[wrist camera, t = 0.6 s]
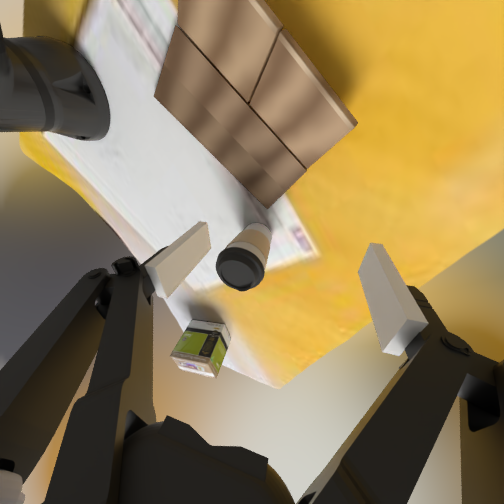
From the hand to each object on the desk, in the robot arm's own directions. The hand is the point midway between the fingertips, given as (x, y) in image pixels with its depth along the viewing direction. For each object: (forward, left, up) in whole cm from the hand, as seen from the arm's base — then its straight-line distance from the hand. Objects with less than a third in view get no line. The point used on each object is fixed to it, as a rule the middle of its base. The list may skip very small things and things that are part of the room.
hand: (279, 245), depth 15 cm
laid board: (-15, -3, -23) cm, 28 cm away
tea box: (+18, -61, -24) cm, 68 cm away
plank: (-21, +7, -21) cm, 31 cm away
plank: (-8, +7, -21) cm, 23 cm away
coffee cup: (+2, -15, -24) cm, 28 cm away
